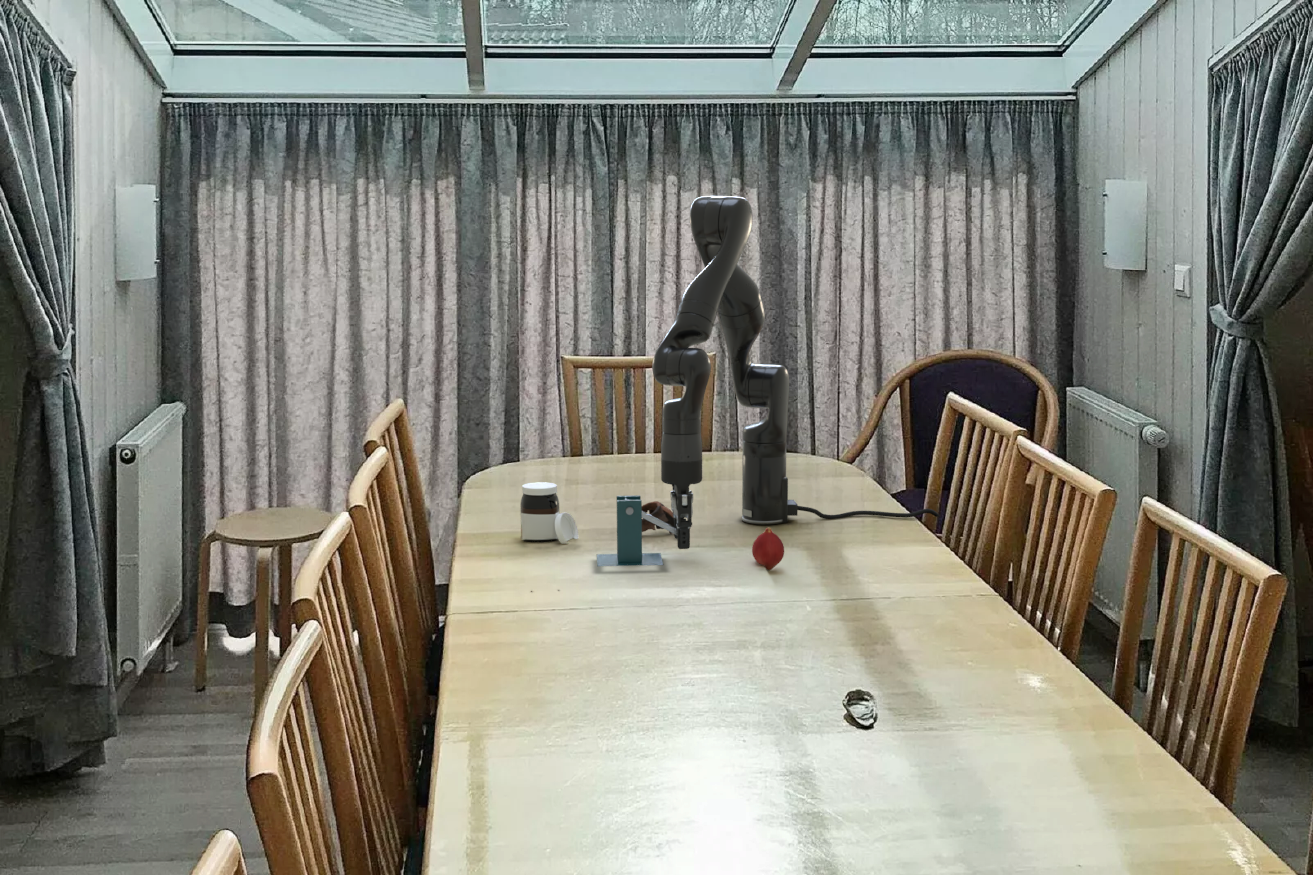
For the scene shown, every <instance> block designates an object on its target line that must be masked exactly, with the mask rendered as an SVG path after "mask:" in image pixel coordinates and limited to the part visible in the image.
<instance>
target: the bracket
mask: <svg viewBox="0 0 1313 875" xmlns="http://www.w3.org/2000/svg"><path fill="white" fill-rule="evenodd" d="M625 498H627V499H629V500H624V499H625ZM642 501H643V500H642V499H641V495H640V494H639V495H638V494H636V495H616V553H601V554H600V553H597V554H596V566H597V567H628V566H629V567H630V566H631V567H633V566H634V567H637V566H664V560H663V558H662V557H663V556H662V553H661V552H648V553H647V552H646V553H645V552H643V532H642V519H643V518H642V506H643V505H642V503H643V502H642Z"/></svg>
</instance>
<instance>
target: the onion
mask: <svg viewBox="0 0 1313 875" xmlns="http://www.w3.org/2000/svg"><path fill="white" fill-rule="evenodd" d="M751 546H752V547H751V554H752V557H753V559H754V560H755V562H756V563H757V564H758V565H761V566H764V568H765V570H766V571H771V570H773V569H774V568H775V567H776V566H778V565H779V564H780V563H781V561H782V560H783V558H784V556H785V545H784V543H783V541H782V539H781V538H780V537H779V536H778V535H777V534H776V533H775V532H773V530H772V528H771V527H766V528H765V530H764V531H763V532H762V533H761V534H759V535H758V536H757V537H756V538H755V540H754V541H753V543H752V545H751Z"/></svg>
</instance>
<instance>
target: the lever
mask: <svg viewBox="0 0 1313 875" xmlns="http://www.w3.org/2000/svg"><path fill="white" fill-rule="evenodd" d="M624 500H629V499H627V498H625V499H624ZM642 519H645V520H647V521H649V522H651V523H653V524H655V525H657V526H659V527H661V528H663V529H662V530H666V531H667V532H668V533H669V532H671V533H672V534H673V535H674V534H675V535H677V528H675V527H673V526H671V525H669V524H667V523H665V522H663V521H661V520H659V519H657V518H655V517H653V516H651V515H649V513H648V512H647V513H645V512H643V511H642Z"/></svg>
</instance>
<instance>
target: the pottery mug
mask: <svg viewBox="0 0 1313 875" xmlns="http://www.w3.org/2000/svg"><path fill="white" fill-rule="evenodd" d="M642 511H643V512H645V513H647V514H649V515H651V516H653V517H655V518H657V519H659V520H661V521H663V522H665V523H667V524H669V525H671V526H673V527H674V519H676V518H673V511H672V510H671V509H670V508H668V507H667V506H666V505H664V504H663V503H662V502H660V501H656V500H655V501H649V502H647V503H645V504H643V505H642ZM649 530H651V531H657V530H664V529H663V528H661V527H659V526H657V525H655V524H653V523H651V522H649V521H647V520H645V519H643V518H642V533H644V532H646V531H649ZM668 533H669V534H670V535H672V534H673V533H671V532H669V531H668Z"/></svg>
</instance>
